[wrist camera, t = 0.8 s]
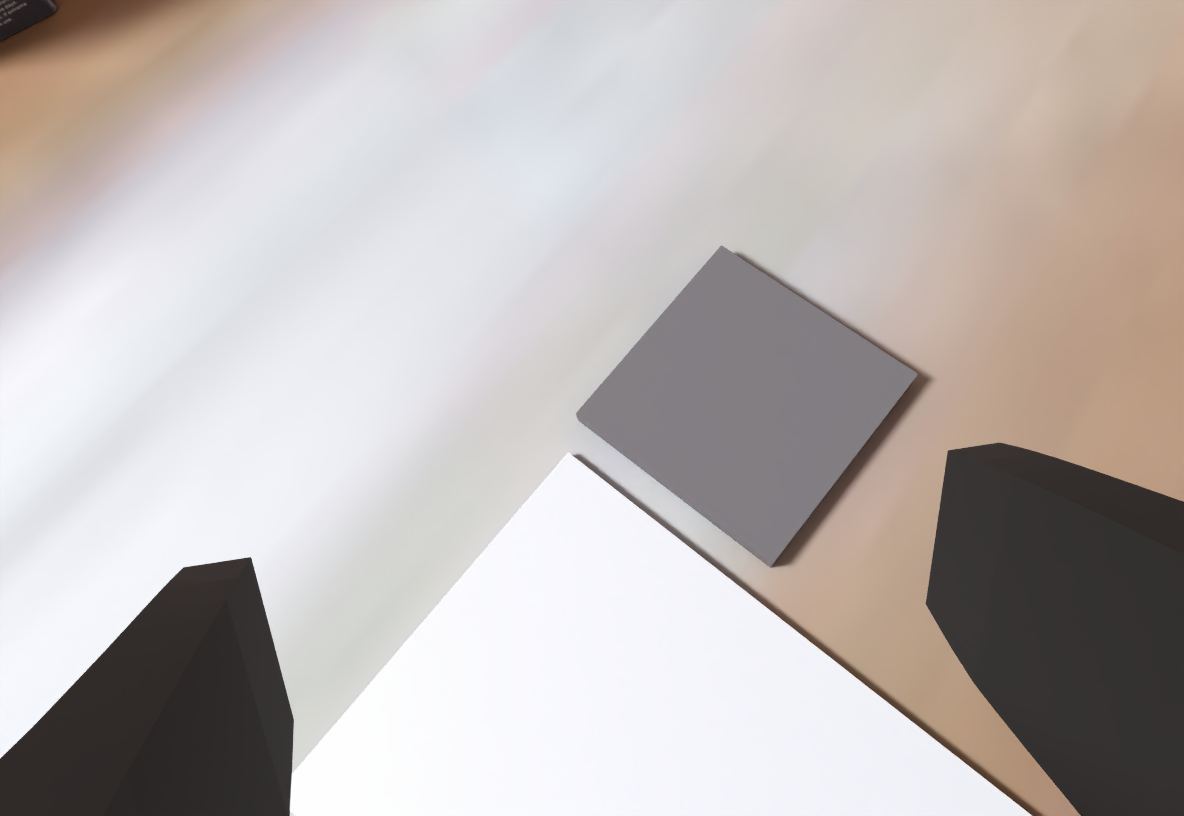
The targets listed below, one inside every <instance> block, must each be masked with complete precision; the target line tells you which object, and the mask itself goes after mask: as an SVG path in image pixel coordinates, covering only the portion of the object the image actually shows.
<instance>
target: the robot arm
mask: <svg viewBox="0 0 1184 816" xmlns="http://www.w3.org/2000/svg"><path fill="white" fill-rule="evenodd" d="M926 605H927V607H928V609H929V610H930V612H931V614H932V615H933V617H934V619H935V621H936V622H937V624H938V626H939V627H940V629H941V631H942V633H943V634H944V636H945V638H946V639H947V641H948V643H949V645H950V646H951V648H952V650H953V651H954V653H955V654H956V656H957V657H958V659H959V661H960V662H961V664H962V665H963V667H964V668H965V670H966V672H967V673H968V675H969V676H970V678H971V679H972V681H973V682H974V684H975V685H976V686H977V688H978V689H979V690H980V692H981V693H982V694H983V695H984V697H985V698H986V699H987V701H988V702H989V703H990V704H991V706H992V707H993V708H994V709H995V711H996V712H997V713H998V714H999V716H1000V717H1001V718H1002V719H1003V721H1004V722H1005V723H1006V724H1007V726H1008V727H1009V728H1010V729H1011V731H1012V732H1013V733H1014V734H1015V736H1016V737H1017V738H1018V739H1019V741H1020V742H1021V743H1022V744H1023V746H1024V747H1025V748H1026V749H1027V750H1028V752H1029V753H1030V754H1031V755H1032V756H1033V758H1034V759H1035V760H1036V761H1037V763H1038V764H1039V765H1040V766H1041V767H1042V769H1043V770H1044V771H1045V772H1046V774H1047V775H1048V776H1049V777H1050V778H1051V780H1052V781H1053V782H1054V783H1055V785H1056V786H1057V787H1058V788H1059V789H1060V791H1061V792H1062V793H1063V794H1064V796H1065V797H1066V798H1067V799H1068V800H1069V802H1070V803H1071V804H1072V805H1073V806H1074V808H1075V809H1076V810H1077V811H1078V813H1079V814H1080V815H1081V816H1184V502H1183V501H1180V500H1177V499H1174V498H1171V497H1168V496H1165V495H1163V494H1160V493H1157V492H1154V491H1151V490H1148V489H1146V488H1143V487H1140V486H1137V485H1134V484H1131V483H1128V482H1125V481H1123V480H1120V479H1117V478H1114V477H1111V476H1108V475H1105V474H1103V473H1100V472H1097V471H1094V470H1091V469H1088V468H1085V467H1082V466H1079V465H1076V464H1073V463H1070V462H1067V461H1064V460H1061V459H1058V458H1055V457H1051V456H1048V455H1045V454H1041V453H1038V452H1035V451H1031V450H1027V449H1024V448H1020V447H1016V446H1012V445H1007V444H1003V443H994V444H988V445H981V446H975V447H968V448H962V449H955V450H948V454H947V461H946V468H945V475H944V482H943V489H942V496H941V503H940V510H939V516H938V523H937V530H936V537H935V544H934V551H933V558H932V565H931V572H930V579H929V586H928V593H927V600H926ZM293 726H294V719H293V715H292V711H291V708H290V704H289V700H288V696H287V692H286V689H285V685H284V681H283V677H282V673H281V670H280V666H279V662H278V658H277V654H276V651H275V647H274V643H273V639H272V635H271V632H270V628H269V624H268V620H267V616H266V612H265V609H264V605H263V601H262V597H261V593H260V590H259V586H258V582H257V578H256V574H255V571H254V567H253V563H252V559H251V557H250V558H243V559H236V560H230V561H223V562H217V563H210V564H204V565H197V566H191V567H184V568H183V569H182V570H181V571H179V572H178V573H177V574H176V575H175V576H174V577H173V578H172V579H171V580H170V581H169V582H168V584H167V585H166V586H165V587H164V588H163V589H162V590H161V591H160V592H159V593H158V594H157V595H156V596H155V597H154V598H153V599H152V601H151V602H150V603H149V604H148V605H147V606H146V607H145V608H144V609H143V610H142V611H141V612H140V614H139V615H138V616H137V617H136V618H135V619H134V620H133V621H132V622H131V623H130V624H129V626H128V627H127V628H126V629H125V630H124V631H123V632H122V633H121V634H120V635H119V636H118V638H117V639H116V640H115V641H114V642H113V643H112V644H111V645H110V646H109V647H108V648H107V649H106V651H105V652H104V653H103V654H102V655H101V656H100V657H99V658H98V659H97V660H96V661H95V662H94V663H93V664H92V665H91V666H90V667H89V669H88V670H87V671H86V672H85V673H84V674H83V675H82V676H81V677H80V678H79V679H78V680H77V681H76V682H75V683H74V684H73V685H72V686H71V688H70V689H69V690H68V691H67V692H66V693H65V694H64V695H63V696H62V697H61V698H60V699H59V700H58V701H57V702H56V703H55V704H54V705H53V706H52V708H51V709H50V710H49V711H48V712H47V713H46V714H45V715H44V716H43V717H42V718H41V719H40V720H39V721H38V722H37V723H36V724H35V725H34V726H33V727H32V728H31V729H30V730H29V731H28V732H27V733H26V734H25V735H24V736H23V737H22V738H21V739H20V740H19V741H18V742H17V743H16V744H15V745H14V746H13V747H12V748H11V749H10V750H9V751H8V752H7V753H6V754H5V755H4V756H3V757H1V758H0V816H289V815H290V797H291V779H292V753H293Z"/></svg>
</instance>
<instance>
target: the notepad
mask: <svg viewBox="0 0 1184 816" xmlns="http://www.w3.org/2000/svg"><path fill="white" fill-rule="evenodd" d="M290 811H291V812H292V813H293V814H294V815H295V816H1032V815H1031V814H1029V813H1028V812H1027V811H1026V810H1024V809H1023V808H1022V807H1020V806H1019V805H1018V804H1017V803H1015V802H1014V801H1013V800H1012V799H1010V798H1009V797H1008V796H1006V795H1005V794H1004V793H1003V792H1001V791H1000V790H999V789H997V788H996V787H995V786H994V785H992V784H991V783H990V782H989V781H987V780H986V779H985V778H983V777H982V776H981V775H980V774H978V773H977V772H976V771H974V770H973V769H972V768H971V767H969V766H968V765H967V764H966V763H964V762H963V761H962V760H960V759H959V758H958V757H957V756H955V755H954V754H953V753H952V752H950V751H949V750H948V749H946V748H945V747H944V746H943V745H941V744H940V743H939V742H937V741H936V740H935V739H934V738H932V737H931V736H930V735H929V734H927V733H926V732H925V731H923V730H922V729H921V728H920V727H918V726H917V725H916V724H914V723H913V722H912V721H911V720H909V719H908V718H907V717H906V716H904V715H903V714H902V713H900V712H899V711H898V710H897V709H895V708H894V707H893V706H892V705H890V704H889V703H888V702H886V701H885V700H884V699H883V698H881V697H880V696H879V695H877V694H876V693H875V692H874V691H872V690H871V689H870V688H869V687H867V686H866V685H865V684H863V683H862V682H861V681H860V680H858V679H857V678H856V677H854V676H853V675H852V674H851V673H849V672H848V671H847V670H846V669H844V668H843V667H842V666H840V665H839V664H838V663H837V662H835V661H834V660H833V659H832V658H830V657H829V656H828V655H826V654H825V653H824V652H823V651H821V650H820V649H819V648H817V647H816V646H815V645H814V644H812V643H811V642H810V641H809V640H807V639H806V638H805V637H803V636H802V635H801V634H800V633H798V632H797V631H796V630H794V629H793V628H792V627H791V626H789V625H788V624H787V623H786V622H784V621H783V620H782V619H780V618H779V617H778V616H777V615H775V614H774V613H773V612H772V611H770V610H769V609H768V608H766V607H765V606H764V605H763V604H761V603H760V602H759V601H757V600H756V599H755V598H754V597H752V596H751V595H750V594H749V593H747V592H746V591H745V590H743V589H742V588H741V587H740V586H738V585H737V584H736V583H734V582H733V581H732V580H731V579H729V578H728V577H727V576H726V575H724V574H723V573H722V572H720V571H719V570H718V569H717V568H715V567H714V566H713V565H712V564H710V563H709V562H708V561H706V560H705V559H704V558H703V557H701V556H700V555H699V554H697V553H696V552H695V551H694V550H692V549H691V548H690V547H689V546H687V545H686V544H685V543H683V542H682V541H681V540H680V539H678V538H677V537H676V536H674V535H673V534H672V533H671V532H669V531H668V530H667V529H666V528H664V527H663V526H662V525H660V524H659V523H658V522H657V521H655V520H654V519H653V518H652V517H650V516H649V515H648V514H646V513H645V512H644V511H643V510H641V509H640V508H639V507H637V506H636V505H635V504H634V503H632V502H631V501H630V500H629V499H627V498H626V497H625V496H623V495H622V494H621V493H620V492H618V491H617V490H616V489H614V488H613V487H612V486H611V485H609V484H608V483H607V482H606V481H604V480H603V479H602V478H600V477H599V476H598V475H597V474H595V473H594V472H593V471H592V470H590V469H589V468H588V467H586V466H585V465H584V464H583V463H581V462H580V461H579V460H577V459H576V458H575V457H574V456H572V455H571V454H570V453H569V452H568V453H567V454H566V455H565V456H564V458H563V459H562V460H561V461H560V462H559V463H558V465H557V466H556V467H555V468H554V469H553V470H552V472H551V473H550V474H549V475H548V476H547V477H546V479H545V480H544V481H543V482H542V483H541V484H540V486H539V487H538V488H537V489H536V490H535V491H534V493H533V494H532V495H531V496H530V497H529V498H528V500H527V501H526V502H525V503H524V504H523V505H522V507H521V508H520V509H519V510H518V511H517V512H516V514H515V515H514V516H513V517H512V518H511V519H510V521H509V522H508V523H507V524H506V525H505V526H504V528H503V529H502V530H501V531H500V532H499V533H498V535H497V536H496V537H495V538H494V539H493V540H492V542H491V543H490V544H489V545H488V546H487V547H486V549H485V550H484V551H483V552H482V553H481V554H480V556H479V557H478V558H477V559H476V560H475V561H474V563H473V564H472V565H471V566H470V567H469V568H468V570H467V571H466V572H465V573H464V574H463V575H462V577H461V578H460V579H459V580H458V581H457V582H456V584H455V585H454V586H453V587H452V588H451V589H450V591H449V592H448V593H447V594H446V595H445V596H444V598H443V599H442V600H441V601H440V602H439V603H438V605H437V606H436V607H435V608H434V609H433V610H432V612H431V613H430V614H429V615H428V616H427V617H426V619H425V620H424V621H423V622H422V623H421V624H420V626H419V627H418V628H417V629H416V630H415V631H414V633H413V634H412V635H411V636H410V637H409V638H408V640H407V641H406V642H405V643H404V644H403V645H402V647H401V648H400V649H399V650H398V651H397V652H396V654H395V655H394V656H393V657H392V658H391V659H390V661H389V662H388V663H387V664H386V665H385V666H384V668H383V669H382V670H381V671H380V672H379V673H378V675H377V676H376V677H375V678H374V679H373V680H372V682H371V683H370V684H369V685H368V686H367V687H366V689H365V690H364V691H363V692H362V693H361V694H360V696H359V697H358V698H357V699H356V700H355V701H354V703H353V704H352V705H351V706H350V707H349V708H348V710H347V711H346V712H345V713H344V714H343V715H342V717H341V718H340V719H339V720H338V721H337V722H336V723H335V725H334V726H333V727H332V728H331V729H330V730H329V732H328V733H327V734H326V735H325V736H324V737H323V739H322V740H321V741H320V742H319V743H318V744H317V746H316V747H315V748H314V749H313V750H312V751H311V753H310V754H309V755H308V756H307V757H306V758H305V760H304V761H303V762H302V763H301V764H300V765H299V767H298V768H297V769H296V770H295V771H294V772H293V774H292V779H291V797H290Z"/></svg>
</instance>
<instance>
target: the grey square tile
mask: <svg viewBox="0 0 1184 816" xmlns="http://www.w3.org/2000/svg"><path fill="white" fill-rule="evenodd" d="M917 375H918V374H917V373H916V372H914V371H913V370H911V369H910V368H908V367H907V366H905V365H904V364H902V363H901V362H899V361H898V360H896V359H895V358H893V357H891V356H890V355H888V354H887V353H885V352H884V351H882V350H881V349H879V348H878V347H876V346H875V345H873V344H872V343H870V342H869V341H867V340H865V339H864V338H862V337H861V336H859V335H858V334H856V333H855V332H853V331H852V330H850V329H849V328H847V327H846V326H844V325H842V324H841V323H839V322H838V321H836V320H835V319H833V318H832V317H830V316H829V315H827V314H826V313H824V312H823V311H821V310H820V309H818V308H816V307H815V306H813V305H812V304H810V303H809V302H807V301H806V300H804V299H803V298H801V297H800V296H798V295H797V294H795V293H794V292H792V291H790V290H789V289H787V288H786V287H784V286H783V285H781V284H780V283H778V282H777V281H775V280H774V279H772V278H771V277H769V276H767V275H766V274H764V273H763V272H761V271H760V270H758V269H757V268H755V267H754V266H752V265H751V264H749V263H748V262H746V261H745V260H743V259H741V258H740V257H738V256H737V255H735V254H734V253H732V252H731V251H729V250H728V249H726V248H725V247H723V246H722V245H721V246H720V248H719V249H718V250H717V251H716V252H715V253H714V255H713V256H712V257H711V258H710V259H709V260H708V261H707V263H706V264H705V265H704V266H703V267H702V268H701V270H700V271H699V272H698V273H697V274H696V275H695V276H694V278H693V279H692V280H691V281H690V282H689V283H688V285H687V286H686V287H685V288H684V289H683V290H682V292H681V293H680V294H679V295H678V296H677V297H676V298H675V300H674V301H673V302H672V303H671V304H670V305H669V307H668V308H667V309H666V310H665V311H664V312H663V313H662V315H661V316H660V317H659V318H658V319H657V320H656V322H655V323H654V324H653V325H652V326H651V327H650V328H649V330H648V331H647V332H646V333H645V334H644V335H643V337H642V338H641V339H640V340H639V341H638V342H637V344H636V345H635V346H634V347H633V348H632V349H631V350H630V352H629V353H628V354H627V355H626V356H625V357H624V359H623V360H622V361H621V362H620V363H619V364H618V365H617V367H616V368H615V369H614V370H613V371H612V372H611V374H610V375H609V376H608V377H607V378H606V379H605V380H604V382H603V383H602V384H601V385H600V386H599V387H598V389H597V390H596V391H595V392H594V393H593V394H592V396H591V397H590V398H589V399H588V400H587V401H586V402H585V404H584V405H583V406H582V407H581V408H580V409H579V411H578V412H577V413H576V415H577V418H578V420H579V421H580V422H581V423H583V424H584V425H585V426H586V427H588V428H589V429H590V430H592V431H593V432H594V433H596V434H597V435H598V436H600V437H601V438H602V439H603V440H605V441H606V442H607V443H609V444H610V445H611V446H613V447H614V448H615V449H617V450H618V451H619V452H620V453H622V454H623V455H624V456H626V457H627V458H628V459H630V460H631V461H632V462H633V463H635V464H636V465H637V466H639V467H640V468H641V469H643V470H644V471H645V472H647V473H648V474H649V475H650V476H652V477H653V478H654V479H656V480H657V481H658V482H660V483H661V484H662V485H663V486H665V487H666V488H667V489H669V490H670V491H671V492H673V493H674V494H675V495H677V496H678V497H679V498H680V499H682V500H683V501H684V502H686V503H687V504H688V505H690V506H691V507H692V508H693V509H695V510H696V511H697V512H699V513H700V514H701V515H703V516H704V517H705V518H707V519H708V520H709V521H710V522H712V523H713V524H714V525H716V526H717V527H718V528H720V529H721V530H722V531H723V532H725V533H726V534H727V535H729V536H730V537H731V538H733V539H734V540H735V541H737V542H738V543H739V544H740V545H742V546H743V547H744V548H746V549H747V550H748V551H750V552H751V553H752V554H753V555H755V556H756V557H757V558H759V559H760V560H761V561H763V562H764V563H765V564H767V565H768V566H769V567H770V568H771V566H772V565H773V564H774V562H775V561H776V560H777V558H778V557H779V556H780V555H781V553H782V552H783V551H784V549H785V548H786V547H787V545H788V544H789V543H790V541H791V540H792V539H793V538H794V536H795V535H796V534H797V532H798V531H799V530H800V528H801V527H802V526H803V525H804V523H805V522H806V521H807V519H808V518H809V517H810V515H811V514H812V513H813V511H814V510H815V509H816V508H817V506H818V505H819V504H820V502H821V501H822V500H823V498H824V497H825V496H826V494H827V493H828V492H829V491H830V489H831V488H832V487H833V485H834V484H835V483H836V481H837V480H838V479H839V478H840V476H841V475H842V474H843V472H844V471H845V470H846V468H847V467H848V466H849V464H850V463H851V462H852V461H853V459H854V458H855V457H856V455H857V454H858V453H859V451H860V450H861V449H862V447H863V446H864V445H865V444H866V442H867V441H868V440H869V438H870V437H871V436H872V434H873V433H874V432H875V431H876V429H877V428H878V427H879V425H880V424H881V423H882V421H883V420H884V419H885V417H886V416H887V415H888V414H889V412H890V411H891V410H892V408H893V407H894V406H895V404H896V403H897V402H898V400H899V399H900V398H901V397H902V395H903V394H904V393H905V391H906V390H907V389H908V387H909V386H910V385H911V384H912V382H913V381H914V379H915V378H916V376H917Z"/></svg>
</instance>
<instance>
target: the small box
mask: <svg viewBox="0 0 1184 816" xmlns="http://www.w3.org/2000/svg"><path fill="white" fill-rule="evenodd" d="M56 9H57V6H56V4H55V2H54V0H0V41H2V40H4V39H6V38H7V37H9V36H11V35H13V34H15V33H17V32H19V31H21V30H22V29H25V28H27V27H29V26H31V25H32V24H34V23H36V22H38V21H40V20H42V19H44V18H46V17H48V16H49V15H51V14H53V13H54V12H55V11H56Z"/></svg>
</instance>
